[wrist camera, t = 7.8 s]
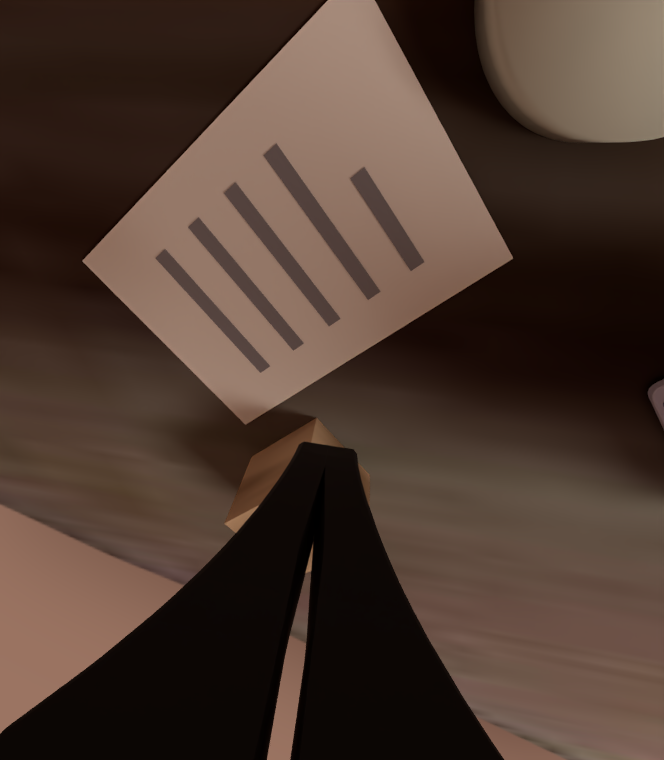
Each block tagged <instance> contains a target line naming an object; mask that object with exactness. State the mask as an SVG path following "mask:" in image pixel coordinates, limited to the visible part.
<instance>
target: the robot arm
mask: <svg viewBox="0 0 664 760" xmlns="http://www.w3.org/2000/svg"><path fill="white" fill-rule="evenodd" d="M648 397H649V399H650V401H651V403H652V406H653V408H654V410H655V412H656V414H657V416H658V419H659V421H660V423H661V425H662V427H663V429H664V379H663V380H661V381H658V382H656V383H655V384H653V385H652V386H651V387H650V388H649V390H648ZM312 546H313V553H312V568H311V583H310V598H309V613H308V628H307V642H306V653H305V662H304V670H303V676H302V683H301V690H300V697H299V704H298V711H297V718H296V724H295V731H294V739H293V745H292V752H291V759H290V760H504V759H503V757H502V756H501V754H500V753H499V752H498V750H497V748H496V747H495V746H494V744H493V743H492V742H491V740H490V738H489V737H488V735H487V733H486V732H485V730H484V729H483V727H482V726H481V724H480V723H479V721H478V720H477V718H476V716H475V715H474V713H473V712H472V710H471V709H470V707H469V706H468V704H467V703H466V701H465V700H464V698H463V696H462V695H461V693H460V691H459V690H458V688H457V686H456V685H455V683H454V681H453V680H452V678H451V676H450V674H449V673H448V671H447V669H446V668H445V666H444V664H443V663H442V661H441V659H440V658H439V656H438V654H437V653H436V651H435V649H434V648H433V646H432V644H431V642H430V641H429V639H428V637H427V635H426V634H425V632H424V630H423V628H422V626H421V624H420V622H419V620H418V619H417V617H416V615H415V613H414V611H413V609H412V607H411V605H410V603H409V601H408V599H407V597H406V595H405V593H404V591H403V589H402V587H401V585H400V583H399V581H398V578H397V576H396V574H395V572H394V570H393V567H392V565H391V563H390V560H389V558H388V556H387V553H386V551H385V548H384V546H383V543H382V541H381V538H380V536H379V533H378V530H377V528H376V525H375V522H374V519H373V516H372V513H371V510H370V507H369V505H368V501H367V498H366V495H365V491H364V487H363V484H362V480H361V476H360V471H359V466H358V460H357V453H356V452H355V451H354V450H353V449H348V448H342V447H336V446H330V445H323V444H317V443H311V442H305V441H304V442H302V443H300V444H299V445H298V448H297V450H296V452H295V454H294V455H293V457H292V459H291V461H290V462H289V464H288V466H287V467H286V469H285V470H284V472H283V473H282V475H281V476H280V478H279V479H278V481H277V482H276V484H275V485H274V486H273V488H272V489H271V490H270V492H269V493H268V494H267V496H266V497H265V498H264V500H263V501H262V502H261V504H260V505H259V506H258V508H257V509H256V510H255V511H254V512H253V514H252V515H251V516H250V517H249V518H248V519H247V521H246V522H245V523H244V524H243V525H242V527H241V528H240V529H239V530H238V531H237V533H236V534H235V535H234V536H233V537H232V538H231V539H230V540H229V541H228V542H227V544H226V545H225V546H224V547H223V548H222V549H221V550H220V551H219V552H218V553H217V554H216V555H215V556H214V557H213V558H212V559H211V560H210V561H209V562H208V563H207V564H206V565H205V566H204V567H203V568H202V569H201V570H200V571H199V572H198V573H197V574H196V575H195V576H194V577H193V578H192V579H191V580H190V581H189V582H188V583H187V584H186V585H185V586H184V587H183V588H181V589H180V590H179V591H178V592H177V593H176V594H175V595H174V596H173V597H172V598H171V599H170V600H168V602H166V603H165V604H164V605H163V606H162V607H161V608H159V609H158V610H157V611H156V612H155V613H154V614H153V615H152V616H150V617H149V618H148V619H147V620H145V621H144V622H143V623H142V624H141V625H139V626H138V627H137V628H136V629H135V630H133V631H132V632H131V633H130V634H128V635H127V636H126V637H125V638H124V639H122V640H121V641H120V642H119V643H118V644H116V645H115V646H114V647H113V648H112V649H110V650H109V651H108V652H107V653H105V654H104V655H103V656H102V657H101V658H99V659H98V660H97V661H95V662H94V663H93V664H91V665H90V666H89V667H88V668H86V669H85V670H84V671H82V672H81V673H80V674H78V675H77V676H76V677H74V678H73V679H72V680H70V681H69V682H68V683H66V684H65V685H64V686H62V687H61V688H59V689H58V690H57V691H55V692H54V693H53V694H51V695H50V696H49V697H47V698H46V699H45V700H43V701H42V702H40V703H39V704H38V705H36V706H35V707H34V708H32V709H31V710H30V711H28V712H27V713H26V714H24V715H23V716H22V717H20V718H19V719H17V720H16V721H15V722H13V723H12V724H11V725H10V726H8V727H7V728H6V729H5V730H3V731H2V733H1V734H0V760H267V755H268V749H269V743H270V738H271V732H272V726H273V720H274V714H275V709H276V703H277V698H278V692H279V686H280V681H281V675H282V669H283V664H284V658H285V653H286V649H287V644H288V640H289V635H290V631H291V628H292V624H293V620H294V616H295V612H296V608H297V604H298V600H299V596H300V593H301V589H302V585H303V581H304V577H305V573H306V569H307V565H308V561H309V557H310V553H311V550H312Z"/></svg>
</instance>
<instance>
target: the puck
mask: <svg viewBox="0 0 664 760" xmlns="http://www.w3.org/2000/svg"><path fill="white" fill-rule="evenodd" d="M474 19H475V35H476V41H477V48H478V54H479V57H480V61H481V64H482V68H483V71H484V74H485V76H486V78H487V81H488V83H489V85H490V88H491V90H492V91H493V93H494V94H495V96H496V98H497V99H498V101H499V102H500V104H501V105H502V106H503V107H504V109H505V110H506V111H507V112H508V113H509V114H510V115H511V116H512V117H513V118H514V119H515V120H516V121H518V122H519V123H520V124H521V125H522V126H524V127H525V128H527V129H529V130H531V131H532V132H534V133H536V134H538V135H541V136H544V137H546V138H549V139H552V140H557V141H562V142H568V143H607V142H634V141H644V140H653V139H657V138H661V137H664V0H475V3H474Z"/></svg>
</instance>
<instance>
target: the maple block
mask: <svg viewBox="0 0 664 760" xmlns="http://www.w3.org/2000/svg"><path fill="white" fill-rule="evenodd" d="M304 441H305V442H311V443H317V444H323V445H330V446H336V447H342V448H344V447H343V446H342V445H341V444H340V442H339V441H338V440H337V439H336V438H335V437H334V436H333V435H332V434H331V433H330V432H329V431H328V429H327V428H326V427H325V426H324V425H323V424H322V423H321V422H320V421H319V420H318V419H317V418H315V419H314V420H312V421H310V422H309V423H307V424H305V425H304V426H302V427H300V428H299V429H297V430H295V431H294V432H292V433H290V434H289V435H287V436H285V437H284V438H282V439H280V440H279V441H277V442H275V443H274V444H272V445H270V446H268V447H267V448H265V449H263V450H262V451H260V452H258V453H257V454H255V455H253V456H252V457H251V460H250V462H249V464H248V467H247V469H246V472H245V474H244V477H243V479H242V482H241V484H240V486H239V489H238V491H237V494H236V496H235V499H234V501H233V504H232V506H231V509H230V511H229V513H228V516H227V518H226V521H225V524H226V525H227V526H228V527H229V528H231V529H232V530H233V531H234V532H235V533H237V531H238V530H239V529H240V528H241V527H242V525H243V524H244V523H245V522H246V521H247V519H248V518H249V517H250V516H251V515H252V514H253V512H254V511H255V510H256V509H257V508H258V506H259V505H260V504H261V502H262V501H263V500H264V498H265V497H266V496H267V494H268V493H269V492H270V490H271V489H272V488H273V486H274V485H275V484H276V482H277V481H278V479H279V478H280V476H281V475H282V473H283V472H284V470H285V469H286V467H287V466H288V464H289V462H290V461H291V459H292V457H293V455H294V454H295V452H296V450H297V448H298V445H299V444H300V443H302V442H304ZM358 466H359V471H360V476H361V480H362V484H363V487H364V491H365V495H366V498H367V501H368V505H369V497H370V475H369V474H368V473H367V472H366V471H365V469H364V468H363V467H362V466H361V465H360V464H359V463H358ZM312 553H313V546H312V550H311V553H310V557H309V561H308V565H307V569H306V573H307V572H310V571H311V568H312Z"/></svg>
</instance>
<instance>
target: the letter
mask: <svg viewBox="0 0 664 760" xmlns="http://www.w3.org/2000/svg"><path fill="white" fill-rule="evenodd" d="M511 259H513V257H512V255H511V253H510V251H509V249H508V248H507V246H506V244H505V242H504V240H503V238H502V236H501V235H500V233H499V231H498V229H497V227H496V225H495V223H494V221H493V220H492V218H491V216H490V214H489V212H488V210H487V208H486V207H485V205H484V203H483V201H482V199H481V197H480V195H479V194H478V192H477V190H476V188H475V186H474V184H473V182H472V180H471V179H470V177H469V175H468V173H467V171H466V169H465V167H464V166H463V164H462V162H461V160H460V158H459V156H458V154H457V153H456V151H455V149H454V147H453V145H452V143H451V141H450V139H449V138H448V136H447V134H446V132H445V130H444V128H443V126H442V125H441V123H440V121H439V119H438V117H437V115H436V113H435V112H434V110H433V108H432V106H431V104H430V102H429V100H428V99H427V97H426V95H425V93H424V91H423V89H422V87H421V85H420V84H419V82H418V80H417V78H416V76H415V74H414V72H413V71H412V69H411V67H410V65H409V63H408V61H407V59H406V58H405V56H404V54H403V52H402V50H401V48H400V46H399V44H398V43H397V41H396V39H395V37H394V35H393V33H392V31H391V30H390V28H389V26H388V24H387V22H386V20H385V18H384V17H383V15H382V13H381V11H380V9H379V7H378V5H377V3H376V2H375V0H328V1H327V2H326V3H325V4H324V5H323V6H322V7H321V8H320V9H319V10H318V11H317V12H316V13H315V14H314V16H313V17H312V18H311V19H310V20H309V21H308V22H307V23H306V24H305V25H304V26H303V27H302V28H301V29H300V30H299V31H298V33H297V34H296V35H295V36H294V37H293V38H292V39H291V40H290V41H289V42H288V43H287V44H286V45H285V46H284V47H283V48H282V49H281V51H280V52H279V53H278V54H277V55H276V56H275V57H274V58H273V59H272V60H271V61H270V62H269V63H268V64H267V65H266V66H265V68H264V69H263V70H262V71H261V72H260V73H259V74H258V75H257V76H256V77H255V78H254V79H253V80H252V81H251V82H250V83H249V84H248V86H247V87H246V88H245V89H244V90H243V91H242V92H241V93H240V94H239V95H238V96H237V97H236V98H235V99H234V100H233V101H232V103H231V104H230V105H229V106H228V107H227V108H226V109H225V110H224V111H223V112H222V113H221V114H220V115H219V116H218V117H217V118H216V119H215V121H214V122H213V123H212V124H211V125H210V126H209V127H208V128H207V129H206V130H205V131H204V132H203V133H202V134H201V135H200V136H199V138H198V139H197V140H196V141H195V142H194V143H193V144H192V145H191V146H190V147H189V148H188V149H187V150H186V151H185V152H184V153H183V155H182V156H181V157H180V158H179V159H178V160H177V161H176V162H175V163H174V164H173V165H172V166H171V167H170V168H169V169H168V170H167V171H166V173H165V174H164V175H163V176H162V177H161V178H160V179H159V180H158V181H157V182H156V183H155V184H154V185H153V186H152V187H151V188H150V190H149V191H148V192H147V193H146V194H145V195H144V196H143V197H142V198H141V199H140V200H139V201H138V202H137V203H136V204H135V205H134V206H133V208H132V209H131V210H130V211H129V212H128V213H127V214H126V215H125V216H124V217H123V218H122V219H121V220H120V221H119V222H118V223H117V225H116V226H115V227H114V228H113V229H112V230H111V231H110V232H109V233H108V234H107V235H106V236H105V237H104V238H103V239H102V240H101V241H100V243H99V244H98V245H97V246H96V247H95V248H94V249H93V250H92V251H91V252H90V253H89V254H88V255H87V256H86V257H85V258H84V260H83V262H84V263H85V264H86V265H87V266H88V267H89V268H90V269H91V270H92V271H93V272H94V274H95V275H96V276H97V277H98V278H99V279H100V280H101V281H102V282H103V283H104V284H105V285H106V286H107V287H108V288H109V289H110V290H111V291H112V292H113V293H114V294H115V295H116V296H117V297H118V298H119V299H120V300H121V301H122V302H123V303H124V304H125V305H126V306H127V307H128V308H129V309H130V310H131V311H132V312H133V313H134V314H135V315H136V316H137V317H138V318H139V319H140V320H141V321H142V322H143V323H144V324H145V325H146V326H147V327H148V328H149V329H150V330H151V331H152V332H153V333H154V334H155V335H156V336H157V337H158V338H159V339H160V340H161V341H162V342H163V343H164V344H165V345H166V346H167V347H168V348H169V349H170V350H171V351H172V352H173V353H174V354H175V355H176V356H177V357H178V358H179V359H180V360H181V361H182V362H183V363H184V364H185V365H186V366H187V367H188V368H189V369H190V370H191V371H192V372H193V373H194V374H195V375H196V376H197V377H198V378H199V379H200V380H201V381H202V382H203V383H204V384H205V385H206V386H207V387H208V388H209V389H210V390H211V391H212V392H213V393H214V394H215V395H216V396H217V397H218V398H219V399H220V400H221V401H222V402H223V403H224V404H225V405H226V406H227V407H228V408H229V409H230V410H231V411H232V412H233V413H234V414H235V415H236V416H237V417H238V418H239V419H240V420H241V421H242V422H243V423H244V424H245V425H246V424H248V423H249V422H251V421H252V420H254V419H256V418H257V417H259V416H260V415H262V414H264V413H265V412H267V411H268V410H270V409H272V408H273V407H275V406H276V405H278V404H280V403H281V402H283V401H285V400H286V399H288V398H289V397H291V396H293V395H294V394H296V393H297V392H299V391H301V390H302V389H304V388H305V387H307V386H309V385H310V384H312V383H313V382H315V381H317V380H318V379H320V378H322V377H323V376H325V375H326V374H328V373H330V372H331V371H333V370H334V369H336V368H338V367H339V366H341V365H342V364H344V363H346V362H347V361H349V360H351V359H352V358H354V357H355V356H357V355H359V354H360V353H362V352H363V351H365V350H367V349H368V348H370V347H371V346H373V345H375V344H376V343H378V342H379V341H381V340H383V339H384V338H386V337H388V336H389V335H391V334H392V333H394V332H396V331H397V330H399V329H400V328H402V327H404V326H405V325H407V324H408V323H410V322H412V321H413V320H415V319H417V318H418V317H420V316H421V315H423V314H425V313H426V312H428V311H429V310H431V309H433V308H434V307H436V306H437V305H439V304H441V303H442V302H444V301H445V300H447V299H449V298H450V297H452V296H454V295H455V294H457V293H458V292H460V291H462V290H463V289H465V288H466V287H468V286H470V285H471V284H473V283H474V282H476V281H478V280H479V279H481V278H482V277H484V276H486V275H487V274H489V273H491V272H492V271H494V270H495V269H497V268H499V267H500V266H502V265H503V264H505V263H507V262H508V261H510V260H511Z"/></svg>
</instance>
